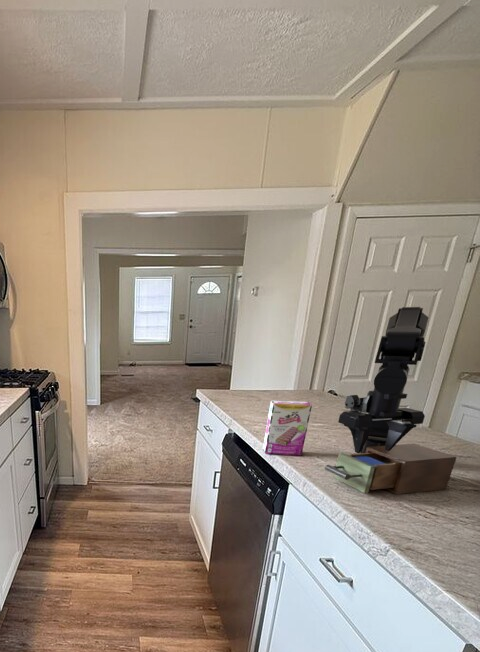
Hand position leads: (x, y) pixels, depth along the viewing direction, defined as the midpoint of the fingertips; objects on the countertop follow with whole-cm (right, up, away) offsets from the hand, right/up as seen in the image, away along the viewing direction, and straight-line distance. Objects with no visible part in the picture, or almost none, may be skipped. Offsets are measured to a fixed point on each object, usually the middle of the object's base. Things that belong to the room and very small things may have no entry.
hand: (372, 451), depth 99 cm
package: (0, -7, +3) cm, 8 cm away
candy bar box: (-9, +1, +29) cm, 31 cm away
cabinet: (+11, -8, +5) cm, 15 cm away
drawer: (0, -8, +3) cm, 9 cm away
